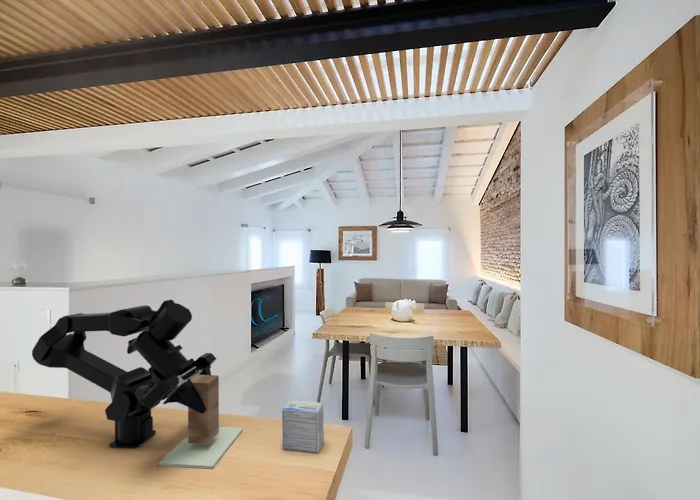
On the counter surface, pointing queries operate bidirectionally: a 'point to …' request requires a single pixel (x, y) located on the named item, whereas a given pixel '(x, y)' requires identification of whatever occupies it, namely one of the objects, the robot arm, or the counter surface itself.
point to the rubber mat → (202, 450)
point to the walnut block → (207, 423)
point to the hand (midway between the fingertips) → (210, 406)
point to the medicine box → (302, 426)
